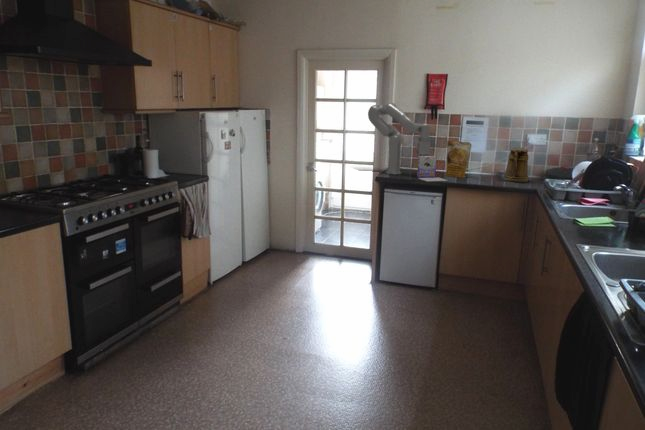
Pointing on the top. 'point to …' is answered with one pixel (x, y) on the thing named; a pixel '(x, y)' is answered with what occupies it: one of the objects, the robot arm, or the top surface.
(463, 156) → the pancake mix bag
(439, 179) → the mat
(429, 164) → the candy box
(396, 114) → the robot arm
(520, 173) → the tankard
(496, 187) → the top surface
